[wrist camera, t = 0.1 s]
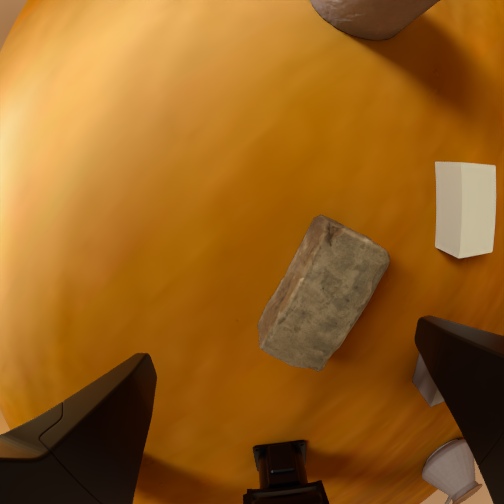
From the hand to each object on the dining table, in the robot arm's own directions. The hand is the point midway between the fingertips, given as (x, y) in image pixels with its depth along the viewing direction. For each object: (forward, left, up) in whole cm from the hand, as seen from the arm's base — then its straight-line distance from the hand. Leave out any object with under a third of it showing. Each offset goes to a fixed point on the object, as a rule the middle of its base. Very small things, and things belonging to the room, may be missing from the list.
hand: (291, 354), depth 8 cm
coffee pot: (-49, -30, -15) cm, 59 cm away
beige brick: (+2, -19, -15) cm, 24 cm away
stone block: (-4, -4, -15) cm, 16 cm away
